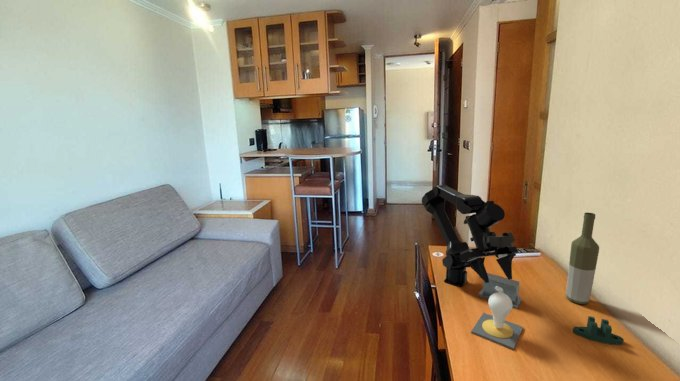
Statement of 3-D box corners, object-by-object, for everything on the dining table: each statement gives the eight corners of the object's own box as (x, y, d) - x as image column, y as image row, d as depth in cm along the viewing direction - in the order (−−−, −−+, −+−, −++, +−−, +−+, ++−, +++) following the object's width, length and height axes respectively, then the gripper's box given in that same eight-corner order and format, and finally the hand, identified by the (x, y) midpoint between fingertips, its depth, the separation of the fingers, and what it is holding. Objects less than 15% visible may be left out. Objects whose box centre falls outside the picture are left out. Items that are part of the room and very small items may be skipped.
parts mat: (471, 332, 90) (471, 330, 90) (483, 314, 98) (483, 312, 98) (513, 350, 83) (513, 347, 83) (522, 328, 91) (523, 326, 91)
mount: (574, 336, 87) (576, 321, 86) (571, 327, 91) (573, 312, 90) (625, 348, 82) (628, 332, 81) (620, 338, 86) (623, 322, 85)
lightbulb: (509, 337, 86) (512, 302, 84) (485, 330, 89) (487, 296, 87) (510, 324, 91) (513, 291, 89) (487, 318, 94) (490, 286, 92)
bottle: (595, 307, 99) (610, 217, 92) (570, 305, 101) (582, 216, 94) (583, 295, 106) (596, 210, 99) (560, 293, 107) (571, 210, 100)
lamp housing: (478, 296, 108) (479, 277, 106) (484, 288, 112) (485, 270, 110) (517, 308, 100) (519, 289, 98) (521, 300, 104) (523, 281, 103)
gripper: (475, 224, 91) (495, 278, 84) (521, 221, 97) (543, 271, 91) (451, 237, 100) (468, 286, 93) (495, 233, 107) (513, 279, 100)
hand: (499, 281), depth 94 cm, fingers open, 9 cm apart
